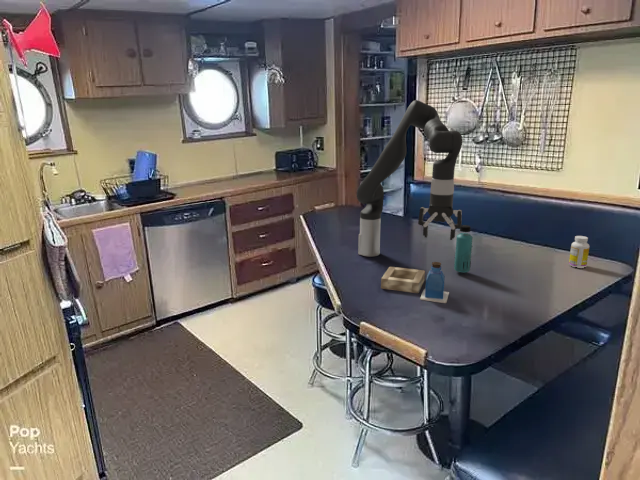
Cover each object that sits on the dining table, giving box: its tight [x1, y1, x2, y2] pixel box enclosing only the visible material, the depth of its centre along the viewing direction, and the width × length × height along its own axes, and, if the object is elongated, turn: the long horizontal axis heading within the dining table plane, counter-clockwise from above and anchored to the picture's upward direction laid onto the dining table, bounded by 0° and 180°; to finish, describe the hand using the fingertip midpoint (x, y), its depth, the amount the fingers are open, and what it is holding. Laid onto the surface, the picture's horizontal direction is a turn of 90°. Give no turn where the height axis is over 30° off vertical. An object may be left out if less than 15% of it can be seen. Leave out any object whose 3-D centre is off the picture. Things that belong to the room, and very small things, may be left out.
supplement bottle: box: [568, 235, 590, 267], centre depth 194 cm, size 7×7×13 cm
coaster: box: [419, 288, 450, 304], centre depth 166 cm, size 9×9×1 cm
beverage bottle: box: [453, 224, 473, 273], centre depth 186 cm, size 6×7×20 cm
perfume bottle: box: [425, 261, 446, 299], centre depth 164 cm, size 6×6×12 cm
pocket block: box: [380, 266, 426, 294], centre depth 177 cm, size 14×14×4 cm
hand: (438, 238), depth 160 cm, fingers open, 8 cm apart
